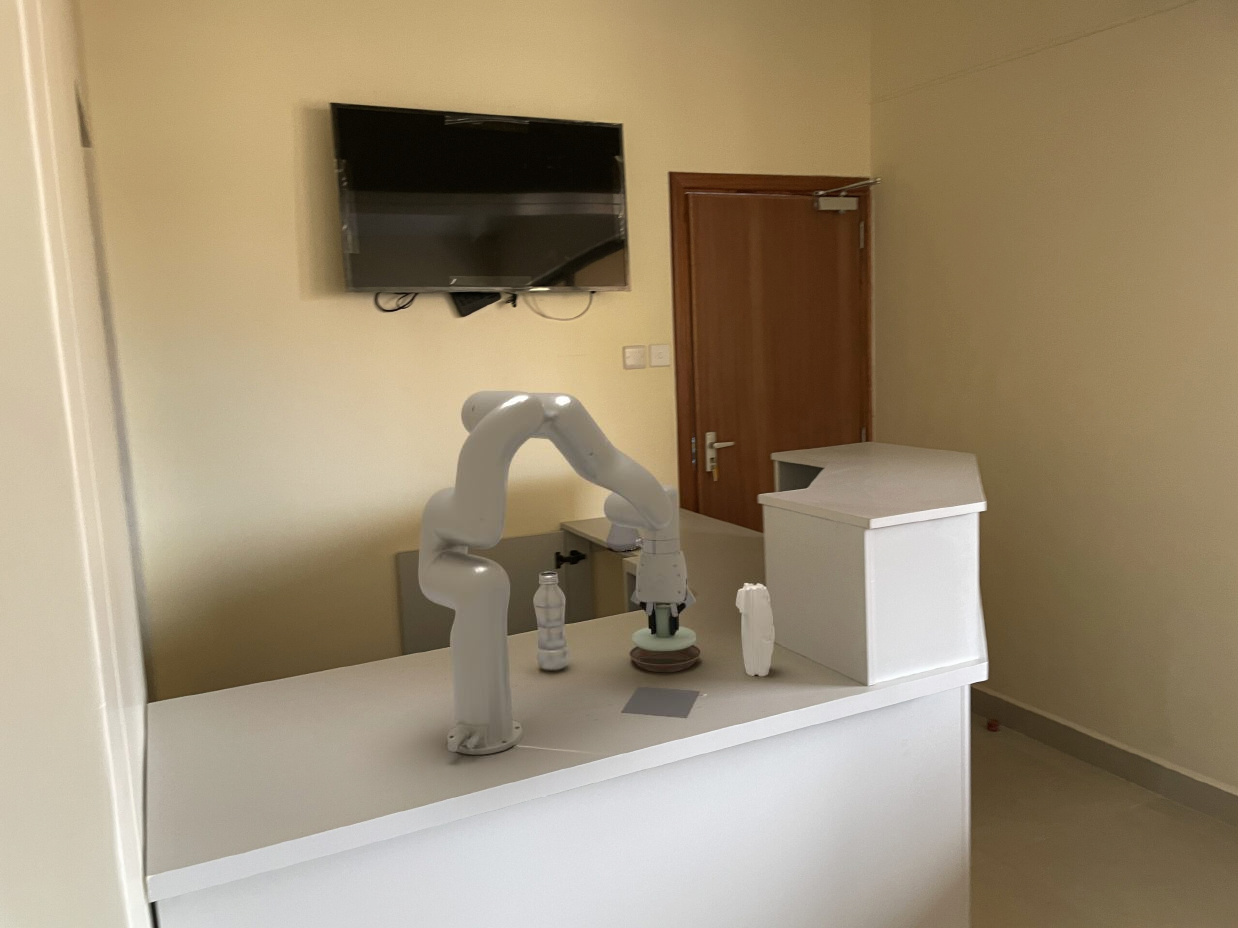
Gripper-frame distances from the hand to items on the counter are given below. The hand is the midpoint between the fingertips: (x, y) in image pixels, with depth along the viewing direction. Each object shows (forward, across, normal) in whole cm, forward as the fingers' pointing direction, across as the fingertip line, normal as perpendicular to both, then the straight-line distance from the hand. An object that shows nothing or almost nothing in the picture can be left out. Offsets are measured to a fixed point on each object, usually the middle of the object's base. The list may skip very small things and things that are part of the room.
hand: (664, 632), depth 180 cm
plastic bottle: (+7, -22, -7) cm, 24 cm away
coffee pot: (+7, -35, +101) cm, 107 cm away
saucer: (+7, 0, 0) cm, 7 cm away
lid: (+2, 0, 0) cm, 2 cm away
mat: (+7, +4, -20) cm, 21 cm away
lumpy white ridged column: (+7, +19, -2) cm, 20 cm away
